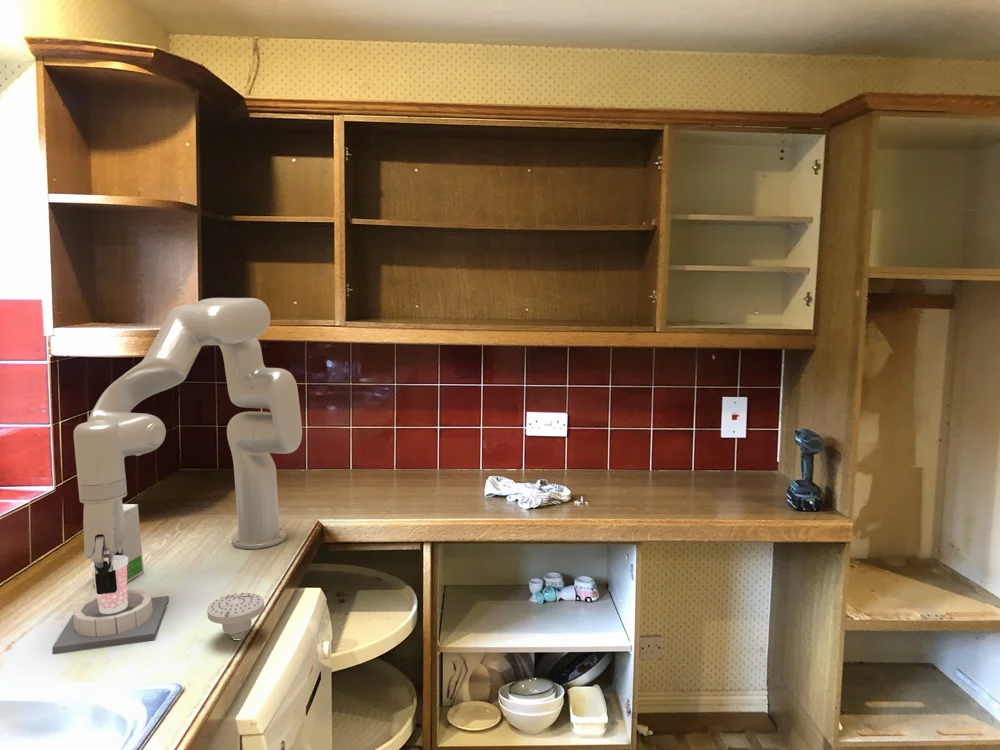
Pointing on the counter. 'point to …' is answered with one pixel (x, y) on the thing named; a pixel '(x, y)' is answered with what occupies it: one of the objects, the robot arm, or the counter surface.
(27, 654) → the counter surface
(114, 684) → the counter surface
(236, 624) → the showerhead
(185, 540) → the counter surface
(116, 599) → the beverage cup
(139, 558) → the skincare box
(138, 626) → the ring holder
